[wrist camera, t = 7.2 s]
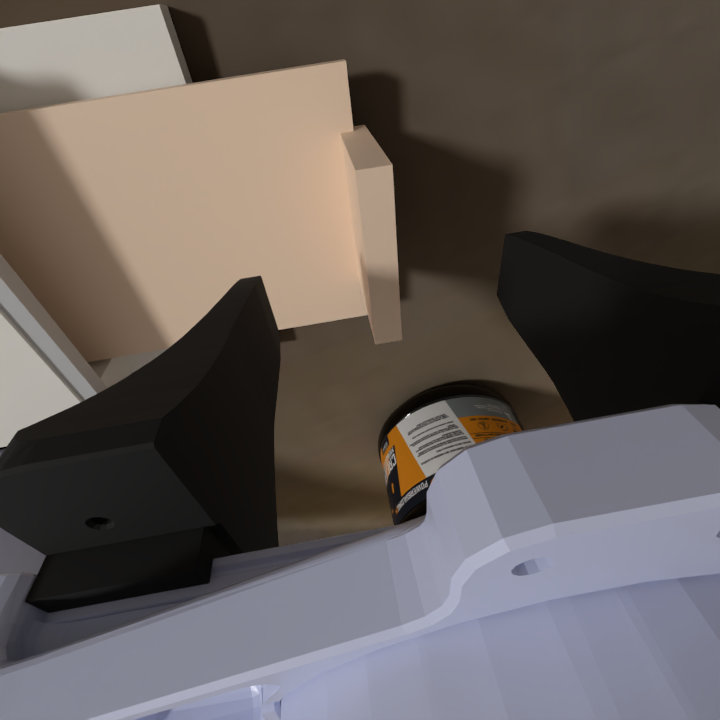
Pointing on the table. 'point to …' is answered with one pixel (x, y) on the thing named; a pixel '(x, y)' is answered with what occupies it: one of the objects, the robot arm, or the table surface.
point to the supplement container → (436, 439)
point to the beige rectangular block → (200, 208)
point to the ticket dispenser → (49, 87)
